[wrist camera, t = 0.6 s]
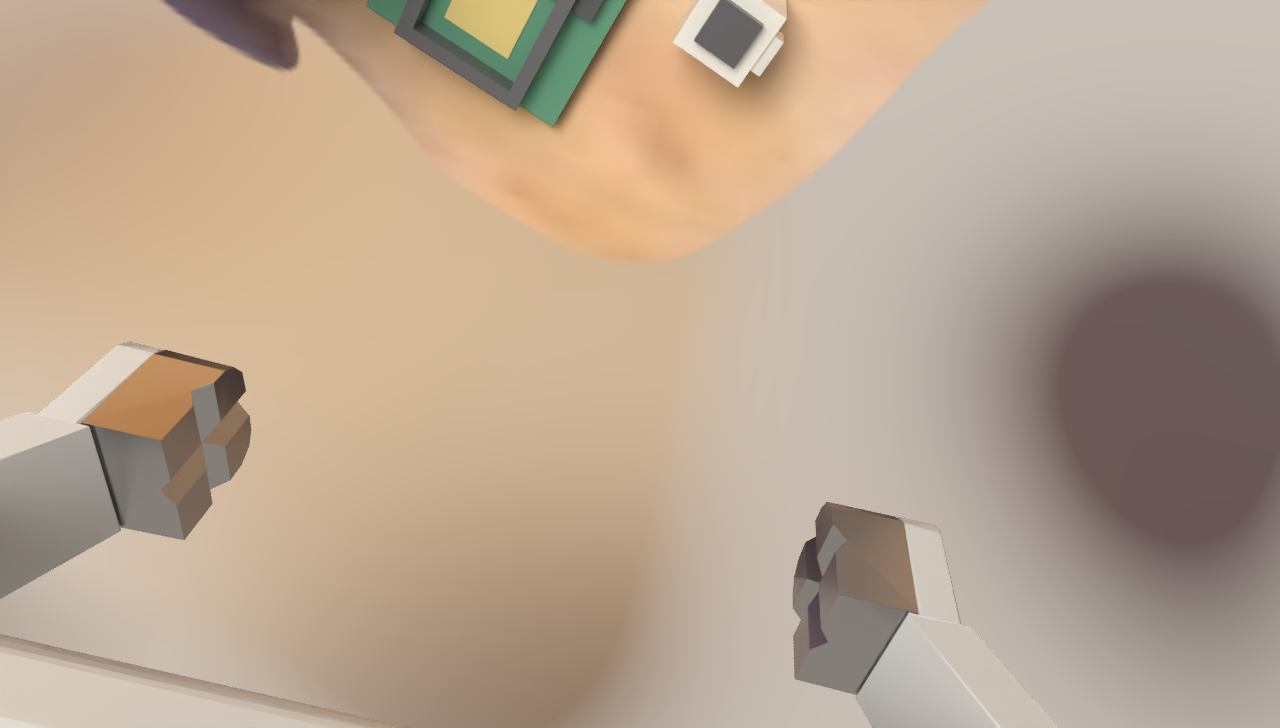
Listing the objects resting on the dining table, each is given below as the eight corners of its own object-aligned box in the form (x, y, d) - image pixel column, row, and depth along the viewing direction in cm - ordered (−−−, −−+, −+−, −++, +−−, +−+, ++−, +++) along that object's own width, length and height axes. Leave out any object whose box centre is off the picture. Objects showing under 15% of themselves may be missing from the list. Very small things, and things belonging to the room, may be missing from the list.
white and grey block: (724, -51, 43) (718, -29, 38) (794, 2, 44) (796, 29, 39) (681, 17, 45) (671, 45, 41) (749, 65, 46) (746, 98, 42)
